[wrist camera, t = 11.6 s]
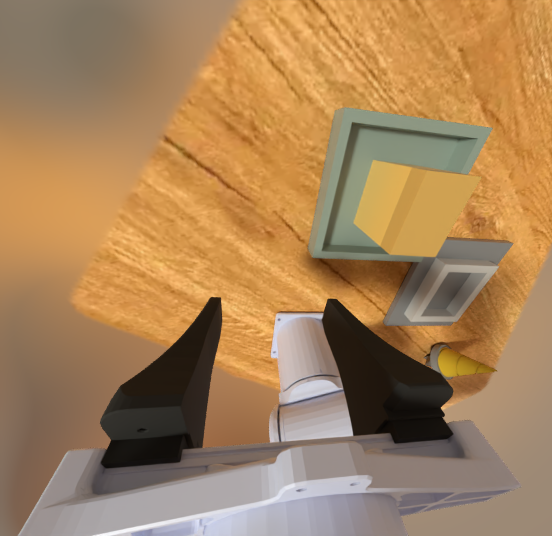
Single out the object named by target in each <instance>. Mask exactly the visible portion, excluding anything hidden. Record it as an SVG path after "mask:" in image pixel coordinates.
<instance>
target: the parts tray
mask: <svg viewBox="0 0 552 536" xmlns="http://www.w3.org/2000/svg"><path fill="white" fill-rule="evenodd" d="M492 129H493V128H489V127H482V126H475V125H468V124H461V123H453V122H446V121H439V120H432V119H425V118H418V117H410V116H403V115H396V114H389V113H382V112H374V111H367V110H360V109H353V108H346V107H345V108H341V109H338V110H335V113H334V118H333V123H332V128H331V133H330V138H329V144H328V149H327V154H326V159H325V164H324V169H323V174H322V179H321V184H320V189H319V194H318V199H317V205H316V210H315V215H314V220H313V225H312V230H311V235H310V240H309V245H308V250H309V252H310V254H311V256H312V258H328V259H353V260H378V261H403V262H421V261H422V259H423V258H424V256H405V255H390V254H388V253H387V252H386V251H385V250H384V249H383V248H382V247H380V246H379V245H378V244H377V243H376V242H375V241H373V240H372V239H371V238H370V237H369V236H368V235H366V234H365V233H364V232H363V231H362V230H361V229H360V228H358V227H357V226H356V225H355V224H354V219H355V216H356V213H357V210H358V207H359V203H360V200H361V197H362V194H363V191H364V188H365V184H366V181H367V178H368V175H369V172H370V168H371V165H372V162H373V160H378V161H386V162H395V163H403V164H411V165H417V166H423V167H429V168H434V169H440V170H446V171H451V172H457V173H463V174H468V173H469V172H470V170H471V168H472V166H473V164H474V162H475V160H476V159H477V157H478V155H479V153H480V151H481V149H482V147H483V145H484V144H485V142H486V140H487V138H488V136H489V134H490V132H491V130H492Z"/></svg>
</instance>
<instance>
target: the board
mask: <svg viewBox="0 0 552 536" xmlns="http://www.w3.org/2000/svg"><path fill="white" fill-rule="evenodd" d="M513 244H514V243H511V242H509V241H504V240H487V239H470V238H453V237H447V238H446V240H445V242H444V243H443V245H442V247H441V248H440V250H439V252H438V254H437V255H436V257H424V258H423V259H422V261H421V262H413V264H412V265H411V267H410V269H409V271H408V273H407V275H406V277H405V279H404V281H403V283H402V285H401V287H400V289H399V291H398V293H397V295H396V297H395V299H394V301H393V303H392V305H391V306H390V308H389V310H388V312H387V314H386V316H385V318H384V320H383V323H384V324H385V326H435V325H452V324H453V322H457V321H458V319H459V318H460V317H461V316H462V314H463V313H464V312H465V310H466V309H467V308H468V306H469V305H470V304H471V303H472V301H473V300H474V299H475V297H476V296H477V295H478V294H479V292H480V291H481V290H482V288H483V287H484V286H485V285H486V283H487V282H488V281H489V279H490V278H491V277H492V275H493V274H494V273H495V272H496V270H497V269H498V268H499V266H497V265H498V263H499V262H500V261H501V259H502V258H503V257H504V255H505V254H506V253H507V251H508V250H509V249H510V248H511V246H512V245H513Z"/></svg>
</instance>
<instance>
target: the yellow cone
mask: <svg viewBox="0 0 552 536" xmlns="http://www.w3.org/2000/svg"><path fill="white" fill-rule="evenodd" d="M424 358H425V359H426V364H425V365H426V366H431V367H432V369H433V370H435V371H437V372H439V373H441V375H442V376H443V377H444V378H445V379H452V378H453V377H454V376H463V375H471V374H476V373H477V374H480V373H489V372H494V371H497V370H495V369H493V368H491V367H489V366H486V365H484V364H482V363H480V362H478V361H475V360H473V359H471V358H469V357H467V356H464V355H462V354H460V353H458V352H456V351H453V350H452V349H451V348H450V347H449V346H447V345H442V344H436V345H435V346H434V347H433V348H432V350H431V354H430V355H429V356H426V357H424Z"/></svg>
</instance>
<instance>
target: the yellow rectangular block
mask: <svg viewBox="0 0 552 536" xmlns="http://www.w3.org/2000/svg"><path fill="white" fill-rule="evenodd" d="M481 178H482V177H480V176H474V175H468V174H463V173H457V172H451V171H446V170H440V169H434V168H429V167H423V166H417V165H411V164H403V163H395V162H386V161H378V160H373V162H372V165H371V168H370V172H369V175H368V178H367V181H366V184H365V188H364V191H363V194H362V197H361V200H360V203H359V207H358V210H357V213H356V216H355V219H354V224H355V225H356V226H357V227H358V228H360V229H361V230H362V231H363V232H364V233H365V234H366V235H368V236H369V237H370V238H371V239H372V240H373V241H375V242H376V243H377V244H378V245H379V246H380V247H382V248H383V249H384V250H385V251H386V252H387V253H388V254H390V255H405V256H424V257H436V255H437V254H438V252H439V250H440V248H441V247H442V245H443V243H444V242H445V240H446V238H447V236H448V235H449V233H450V231H451V229H452V228H453V226H454V224H455V223H456V221H457V219H458V217H459V216H460V214H461V212H462V210H463V209H464V207H465V205H466V204H467V202H468V200H469V198H470V197H471V195H472V193H473V191H474V190H475V188H476V186H477V185H478V183H479V181H480V179H481Z"/></svg>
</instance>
